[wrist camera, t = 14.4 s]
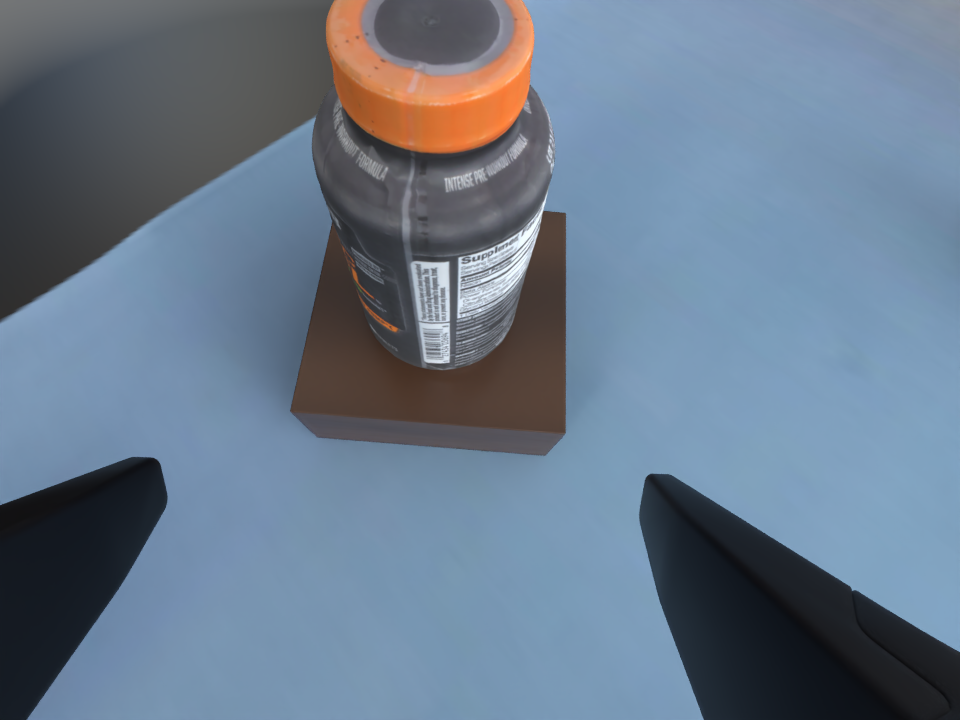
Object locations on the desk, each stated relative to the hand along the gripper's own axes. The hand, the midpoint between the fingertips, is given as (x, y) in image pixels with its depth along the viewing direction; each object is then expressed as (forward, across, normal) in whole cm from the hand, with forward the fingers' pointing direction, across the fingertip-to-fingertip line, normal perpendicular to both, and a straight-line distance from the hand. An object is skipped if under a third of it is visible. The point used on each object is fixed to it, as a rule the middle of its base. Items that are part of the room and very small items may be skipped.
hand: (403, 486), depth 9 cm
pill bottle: (+12, 0, 0) cm, 12 cm away
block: (+14, 0, +2) cm, 15 cm away
